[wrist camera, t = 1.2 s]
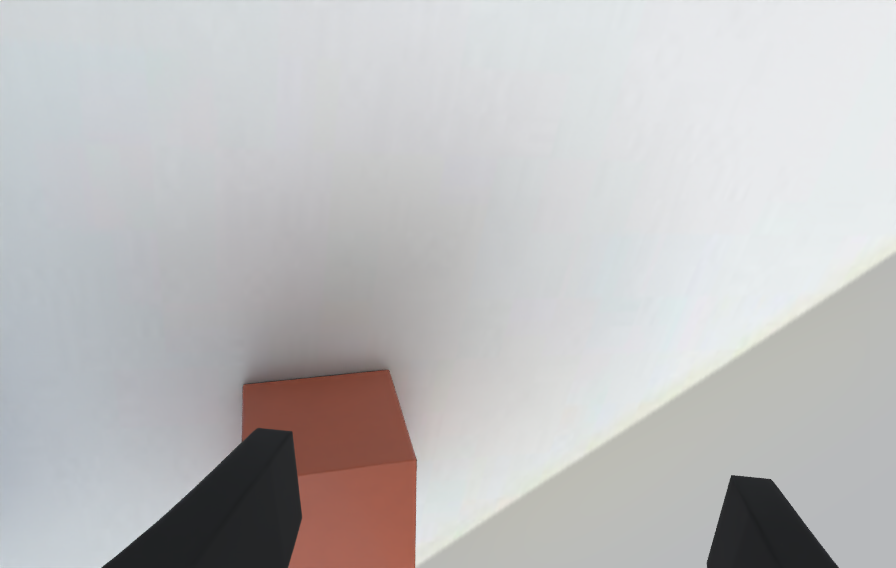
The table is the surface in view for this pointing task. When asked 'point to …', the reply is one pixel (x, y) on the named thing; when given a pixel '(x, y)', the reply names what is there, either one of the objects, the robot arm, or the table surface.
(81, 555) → the table surface
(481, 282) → the table surface
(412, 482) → the block
